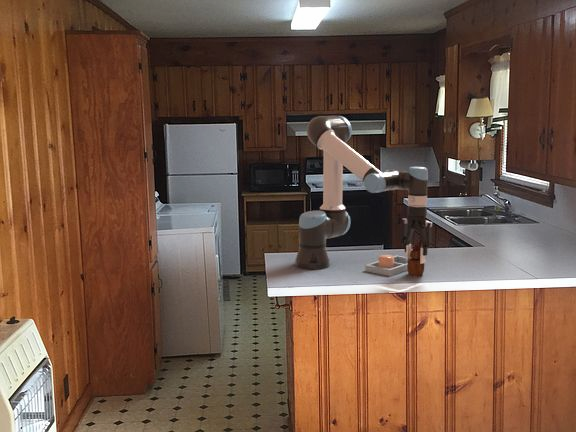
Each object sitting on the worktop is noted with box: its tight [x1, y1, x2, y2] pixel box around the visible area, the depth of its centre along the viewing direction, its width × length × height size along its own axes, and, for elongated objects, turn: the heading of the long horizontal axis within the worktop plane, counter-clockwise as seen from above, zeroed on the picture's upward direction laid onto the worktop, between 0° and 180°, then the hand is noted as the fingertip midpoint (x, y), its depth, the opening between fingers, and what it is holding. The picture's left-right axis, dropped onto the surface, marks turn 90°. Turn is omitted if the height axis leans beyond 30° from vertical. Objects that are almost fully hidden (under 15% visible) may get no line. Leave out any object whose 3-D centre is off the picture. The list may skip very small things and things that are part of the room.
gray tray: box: [364, 255, 408, 277], centre depth 273 cm, size 12×24×4 cm, turn 138°
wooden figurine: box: [407, 239, 426, 277], centre depth 262 cm, size 7×6×15 cm
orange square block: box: [378, 254, 395, 269], centre depth 268 cm, size 6×6×6 cm
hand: (415, 261), depth 262 cm, fingers closed on wooden figurine, 6 cm apart
